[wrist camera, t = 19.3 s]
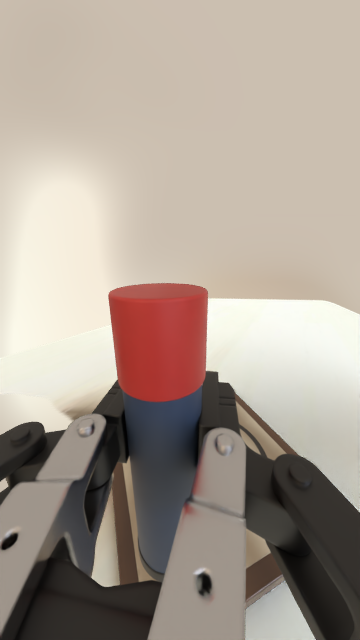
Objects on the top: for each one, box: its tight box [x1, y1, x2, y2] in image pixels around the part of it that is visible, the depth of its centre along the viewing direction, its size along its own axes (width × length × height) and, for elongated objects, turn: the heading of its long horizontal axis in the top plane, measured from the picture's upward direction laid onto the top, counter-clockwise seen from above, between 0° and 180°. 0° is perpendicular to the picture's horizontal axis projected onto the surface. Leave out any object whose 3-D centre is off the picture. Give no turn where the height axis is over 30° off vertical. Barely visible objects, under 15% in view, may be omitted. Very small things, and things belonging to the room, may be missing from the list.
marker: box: [109, 283, 208, 582], centre depth 8 cm, size 3×3×12 cm
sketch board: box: [112, 392, 299, 609], centre depth 19 cm, size 16×16×1 cm
